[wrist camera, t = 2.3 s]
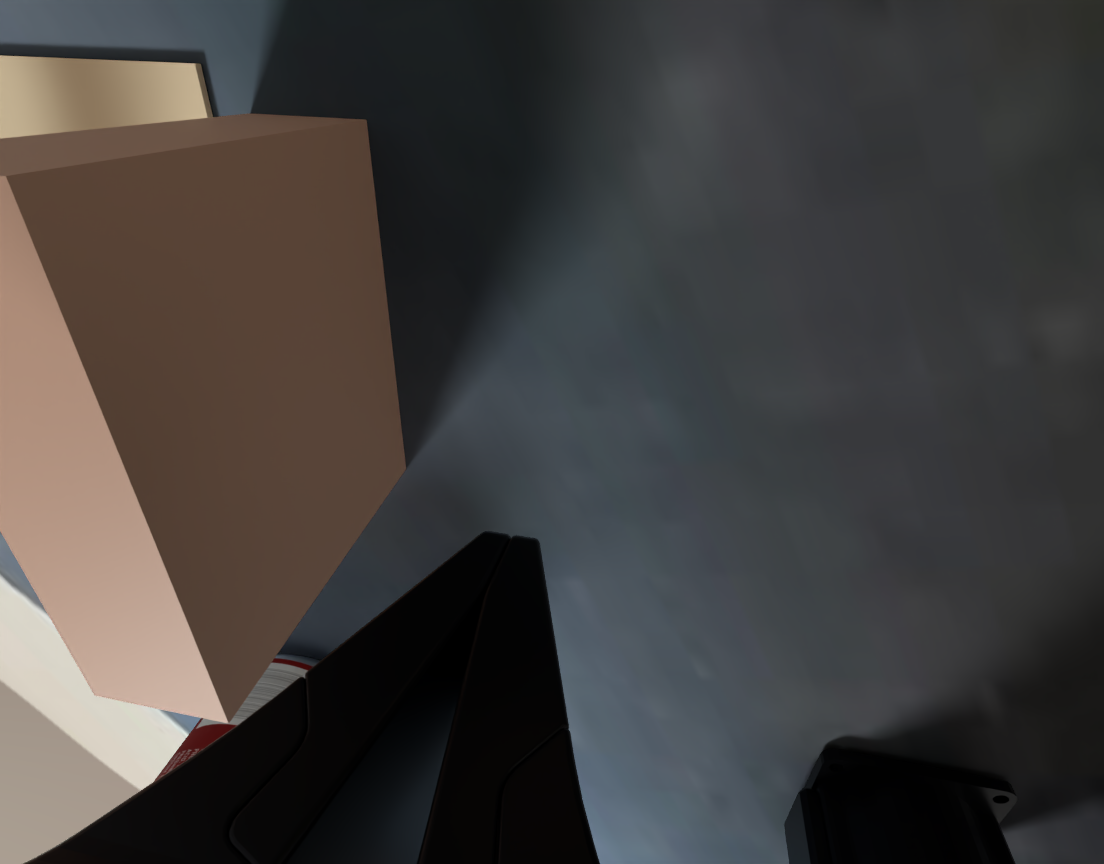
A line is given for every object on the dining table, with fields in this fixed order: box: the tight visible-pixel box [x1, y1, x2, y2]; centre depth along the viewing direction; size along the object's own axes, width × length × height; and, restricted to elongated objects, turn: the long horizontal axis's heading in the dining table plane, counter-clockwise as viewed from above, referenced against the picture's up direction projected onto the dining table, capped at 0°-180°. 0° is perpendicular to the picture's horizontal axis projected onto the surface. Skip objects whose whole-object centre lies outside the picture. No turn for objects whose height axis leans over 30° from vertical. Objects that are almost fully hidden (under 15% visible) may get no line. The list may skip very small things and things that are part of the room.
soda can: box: [154, 654, 320, 782], centre depth 22 cm, size 7×7×12 cm
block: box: [0, 113, 406, 724], centre depth 13 cm, size 3×10×9 cm, turn 179°
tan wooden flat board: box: [0, 55, 213, 139], centre depth 18 cm, size 9×12×1 cm
